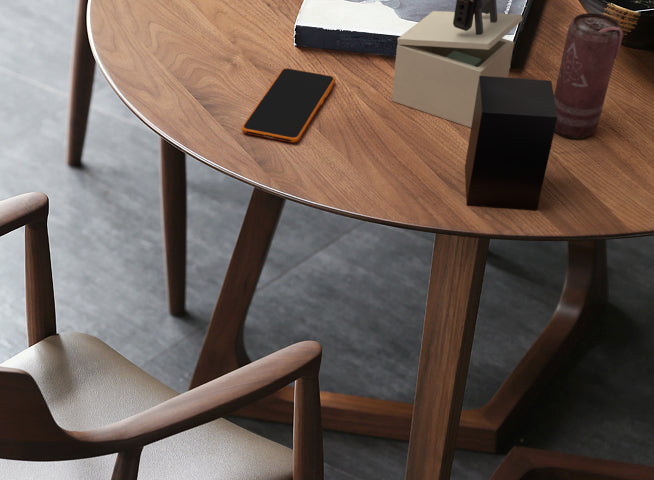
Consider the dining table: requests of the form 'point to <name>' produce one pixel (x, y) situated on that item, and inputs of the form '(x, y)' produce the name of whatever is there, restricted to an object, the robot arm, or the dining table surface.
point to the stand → (509, 142)
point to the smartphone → (289, 105)
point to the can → (585, 73)
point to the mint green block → (465, 58)
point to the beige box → (446, 78)
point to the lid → (444, 34)
